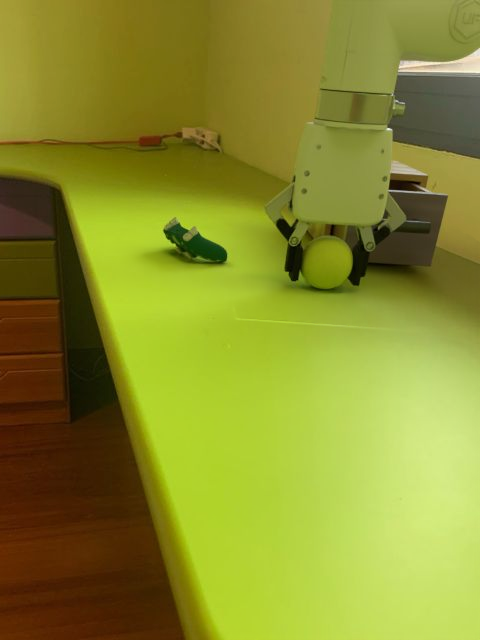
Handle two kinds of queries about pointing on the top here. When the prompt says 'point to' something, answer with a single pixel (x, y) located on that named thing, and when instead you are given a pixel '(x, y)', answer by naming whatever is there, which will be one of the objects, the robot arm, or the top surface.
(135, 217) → the top surface
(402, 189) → the drawer
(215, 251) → the green shoe
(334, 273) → the ball
